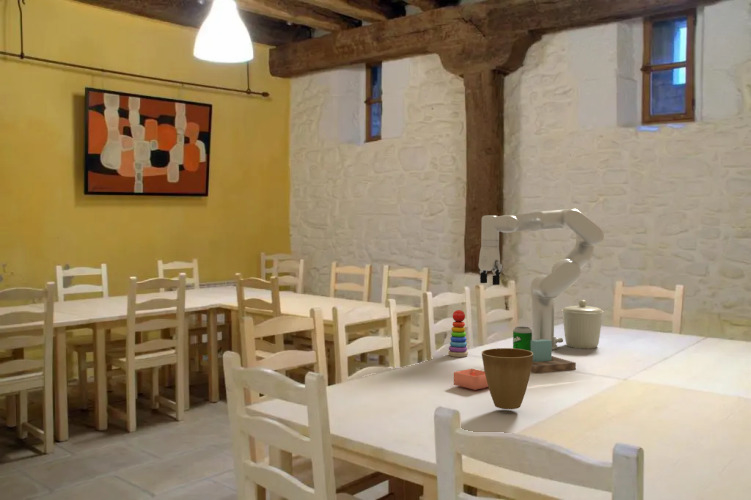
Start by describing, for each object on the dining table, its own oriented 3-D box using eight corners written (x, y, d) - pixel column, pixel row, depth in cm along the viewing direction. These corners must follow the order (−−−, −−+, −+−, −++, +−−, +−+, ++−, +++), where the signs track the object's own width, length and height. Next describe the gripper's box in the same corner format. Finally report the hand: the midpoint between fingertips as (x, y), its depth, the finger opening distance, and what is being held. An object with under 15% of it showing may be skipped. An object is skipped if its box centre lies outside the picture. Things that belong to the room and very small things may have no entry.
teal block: (530, 366, 260) (530, 340, 260) (545, 365, 263) (546, 339, 262) (535, 368, 257) (536, 341, 256) (551, 366, 259) (551, 340, 259)
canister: (551, 346, 305) (552, 298, 305) (583, 343, 313) (584, 297, 312) (580, 352, 289) (580, 303, 288) (612, 349, 297) (613, 301, 296)
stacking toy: (468, 357, 277) (469, 311, 276) (449, 357, 277) (449, 311, 277) (466, 354, 285) (467, 309, 284) (447, 353, 285) (447, 309, 284)
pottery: (475, 389, 223) (475, 359, 223) (453, 384, 230) (453, 355, 230) (509, 381, 235) (510, 353, 234) (488, 377, 242) (488, 349, 241)
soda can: (530, 355, 282) (530, 326, 282) (532, 358, 275) (533, 329, 275) (511, 355, 283) (512, 326, 283) (513, 358, 276) (514, 328, 275)
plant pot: (496, 397, 212) (497, 346, 211) (541, 405, 202) (542, 351, 202) (471, 407, 200) (472, 352, 200) (517, 416, 191) (518, 359, 190)
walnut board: (545, 360, 271) (545, 350, 271) (575, 369, 255) (575, 358, 255) (507, 364, 264) (507, 353, 264) (535, 373, 248) (535, 362, 248)
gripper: (472, 243, 301) (471, 282, 302) (493, 244, 285) (493, 285, 286) (486, 243, 304) (486, 282, 305) (509, 244, 288) (508, 285, 289)
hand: (489, 283), depth 295 cm, fingers open, 9 cm apart
